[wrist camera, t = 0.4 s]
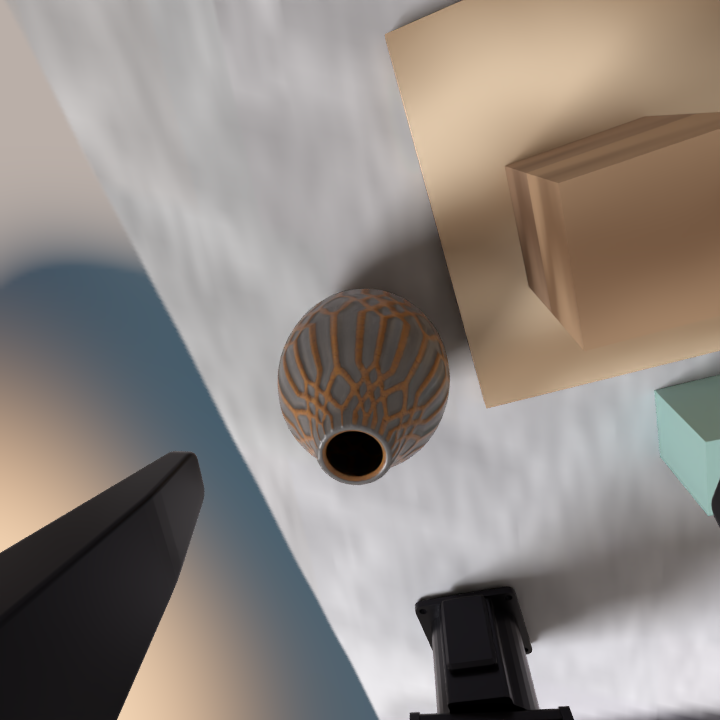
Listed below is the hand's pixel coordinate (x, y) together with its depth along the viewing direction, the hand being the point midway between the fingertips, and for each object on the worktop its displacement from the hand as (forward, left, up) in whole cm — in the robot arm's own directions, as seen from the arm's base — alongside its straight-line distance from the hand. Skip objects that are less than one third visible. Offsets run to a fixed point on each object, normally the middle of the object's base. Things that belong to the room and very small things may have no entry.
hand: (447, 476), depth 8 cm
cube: (-12, -11, -14) cm, 21 cm away
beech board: (0, -7, -14) cm, 16 cm away
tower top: (0, -7, -10) cm, 12 cm away
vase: (-3, +3, -14) cm, 15 cm away
